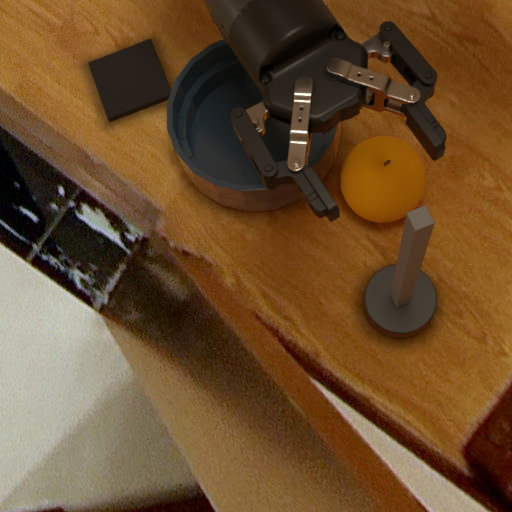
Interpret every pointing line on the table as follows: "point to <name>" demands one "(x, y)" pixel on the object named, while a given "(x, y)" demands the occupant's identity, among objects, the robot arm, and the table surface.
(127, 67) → the pad
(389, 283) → the square post on disc
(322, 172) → the bowl
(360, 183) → the orange
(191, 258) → the table surface
